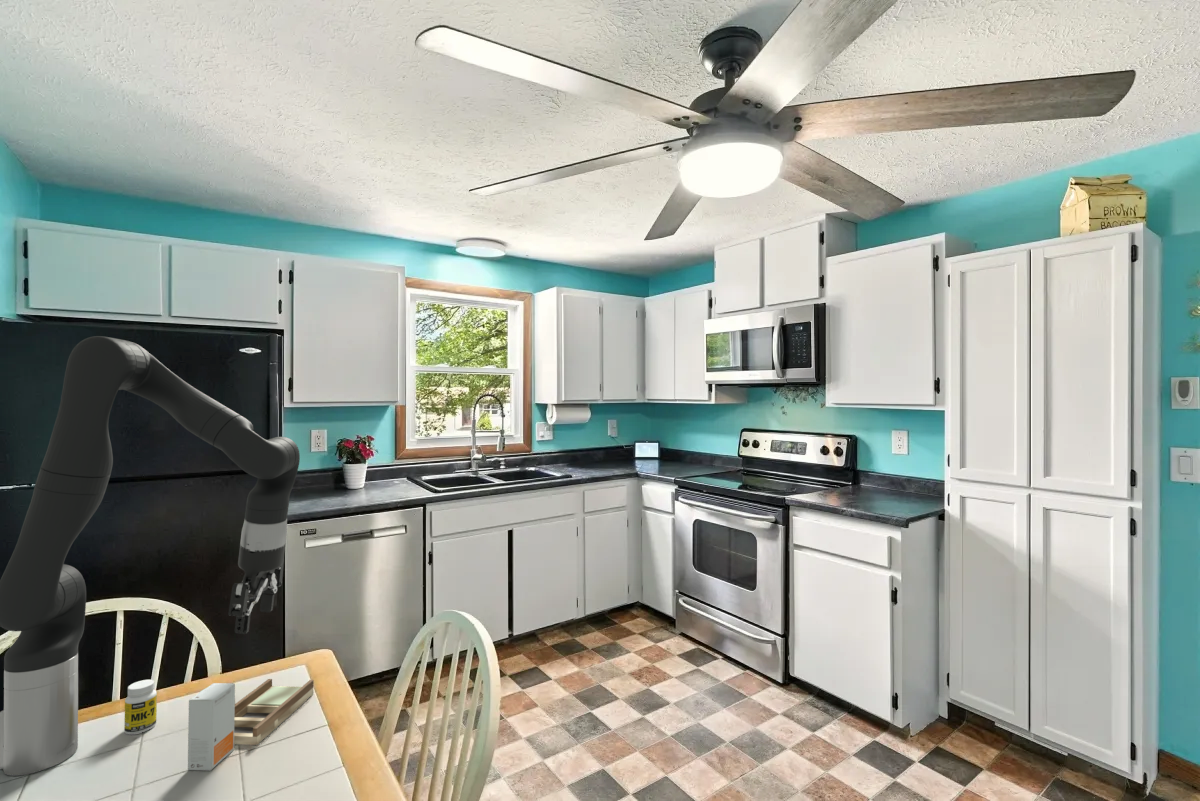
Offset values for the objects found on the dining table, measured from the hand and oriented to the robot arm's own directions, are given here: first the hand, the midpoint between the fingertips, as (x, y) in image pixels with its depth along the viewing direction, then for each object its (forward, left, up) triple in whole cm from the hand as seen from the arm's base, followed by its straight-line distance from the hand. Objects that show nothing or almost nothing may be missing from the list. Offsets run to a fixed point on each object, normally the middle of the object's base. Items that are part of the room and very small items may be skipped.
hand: (254, 621), depth 109 cm
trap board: (0, +3, -20) cm, 20 cm away
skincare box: (0, -11, -20) cm, 23 cm away
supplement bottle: (-21, -2, -20) cm, 29 cm away
